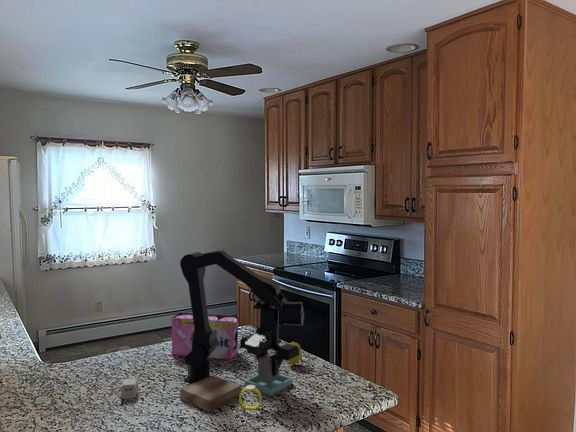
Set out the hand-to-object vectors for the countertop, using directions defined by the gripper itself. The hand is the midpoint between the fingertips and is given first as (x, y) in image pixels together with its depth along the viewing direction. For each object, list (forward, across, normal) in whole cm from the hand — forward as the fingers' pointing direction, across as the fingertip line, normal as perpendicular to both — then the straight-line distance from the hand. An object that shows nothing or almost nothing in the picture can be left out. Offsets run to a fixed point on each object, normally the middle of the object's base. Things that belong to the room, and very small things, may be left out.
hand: (268, 374), depth 136 cm
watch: (+4, +5, -14) cm, 15 cm away
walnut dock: (+4, -8, -16) cm, 18 cm away
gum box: (+4, -36, +7) cm, 37 cm away
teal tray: (+4, 0, 0) cm, 4 cm away
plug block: (+2, 0, 0) cm, 2 cm away
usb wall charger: (+4, -29, -28) cm, 40 cm away
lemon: (+4, -4, +18) cm, 19 cm away
